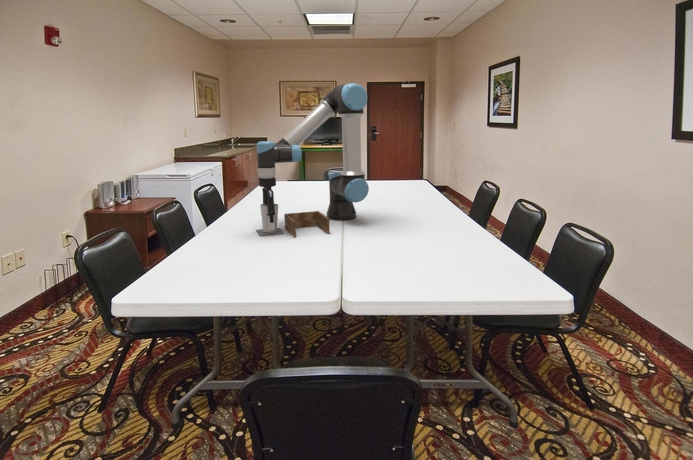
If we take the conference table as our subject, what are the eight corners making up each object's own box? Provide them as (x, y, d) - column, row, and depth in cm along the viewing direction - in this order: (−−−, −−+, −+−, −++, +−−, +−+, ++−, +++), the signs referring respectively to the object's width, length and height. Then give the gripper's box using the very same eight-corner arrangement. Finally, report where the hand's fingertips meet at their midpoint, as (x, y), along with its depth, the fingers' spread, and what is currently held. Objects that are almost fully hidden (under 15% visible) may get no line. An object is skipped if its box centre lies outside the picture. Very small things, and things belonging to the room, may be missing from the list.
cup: (275, 233, 210) (274, 206, 207) (258, 232, 211) (257, 205, 209) (281, 229, 218) (280, 203, 215) (264, 228, 219) (264, 203, 217)
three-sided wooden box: (318, 225, 226) (318, 211, 224) (329, 233, 210) (329, 218, 209) (284, 228, 221) (284, 213, 219) (293, 237, 205) (292, 221, 203)
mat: (279, 228, 221) (279, 227, 221) (284, 233, 211) (284, 233, 211) (255, 230, 218) (255, 229, 218) (259, 236, 208) (259, 235, 208)
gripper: (254, 174, 217) (257, 222, 223) (262, 180, 198) (265, 233, 203) (270, 173, 219) (273, 221, 225) (280, 179, 200) (282, 231, 205)
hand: (269, 227), depth 214 cm, fingers open, 8 cm apart
